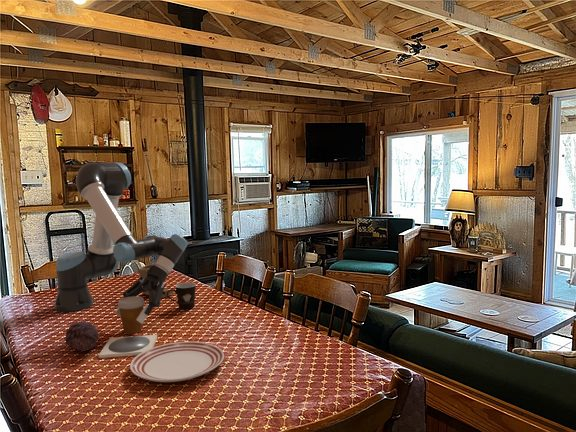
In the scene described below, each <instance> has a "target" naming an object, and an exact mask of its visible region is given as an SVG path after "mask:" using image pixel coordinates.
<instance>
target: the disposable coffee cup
mask: <svg viewBox="0 0 576 432" xmlns="http://www.w3.org/2000/svg"><path fill="white" fill-rule="evenodd" d="M145 303H146V301H145V300H144V297H142V296H139V295H137V296H132V297H126V298H124V297H122V298H121V299H119V300H118V303H117V308H118V307H119V309H120V315H121V317H120V318H121V324H122V329H123V333H124V334H127V335H135V334H138V333H141V332H142V331H143V324H141V323H140V322H138V321H137V320H136V319H137V318H138V316H139V315H140V313H141V312H142V310H143V309H144V307H145Z"/></svg>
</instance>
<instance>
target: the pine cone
mask: <svg viewBox="0 0 576 432" xmlns="http://www.w3.org/2000/svg"><path fill="white" fill-rule="evenodd" d="M99 336H100V334H99V331H98V329H97V327H96V326H95V325H94V324H93V323H91V322H90V321H76V322H75V323H71V324H70V325H69V327H68V329H67V330H66V331H65V344H66V345H67V347H68V348H70V349H76V350H78V351H84V352H85V351H87V350H91V349H92V348H94V347H95V346H96V345H97V343H98V340H99V338H100V337H99Z"/></svg>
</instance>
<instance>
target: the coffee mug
mask: <svg viewBox="0 0 576 432" xmlns="http://www.w3.org/2000/svg"><path fill="white" fill-rule="evenodd" d="M196 285H197V284H196V283H195V282H181V283H178V284H175V289H169V291H167V297H166V298H168V299H170V300H171V301H173V302H175V303H177V305H178V309H179V310H180V311H190V310H192V309H193V310H194V308H195V303H196V302H195V301H196V289H197V288H196V287H197V286H196ZM170 291H174V293H175V294H176V297H177V298H176V299H177V300H175V299H174V298H171V297H170V295H169V296H168V292H170Z"/></svg>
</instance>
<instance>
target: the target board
mask: <svg viewBox="0 0 576 432" xmlns="http://www.w3.org/2000/svg"><path fill="white" fill-rule="evenodd" d="M157 339H158V334H149V335H148V334H147V335H133V336H118V337H110V338H109V339H108V340H107V341H106V344H105V345H104V346H103V348H102V350H100V352H99V354H98V359H103V358H118V357H129V356H132V357H133V356H137V355H139V354H140V353H142V352H144V351H146V350H148V349H151V348H154V347H155V345H156V343H157Z"/></svg>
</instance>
